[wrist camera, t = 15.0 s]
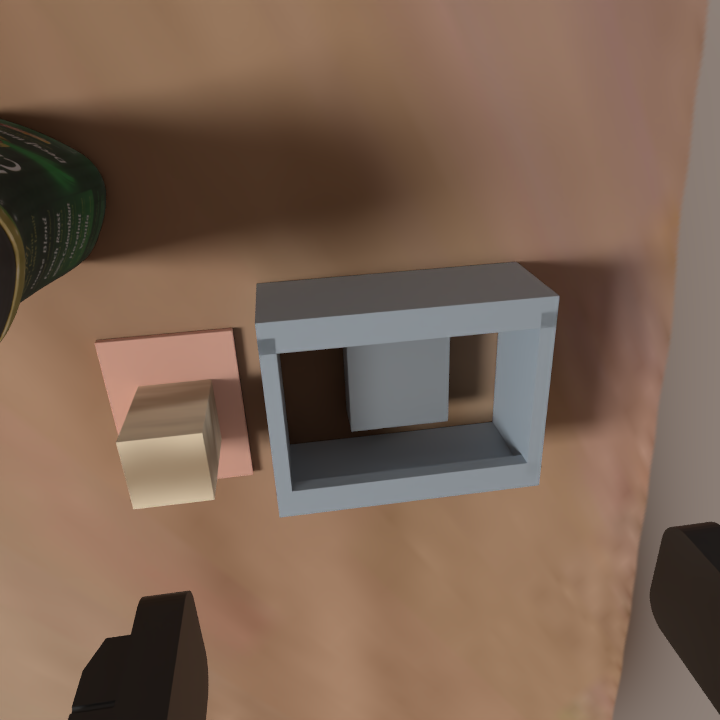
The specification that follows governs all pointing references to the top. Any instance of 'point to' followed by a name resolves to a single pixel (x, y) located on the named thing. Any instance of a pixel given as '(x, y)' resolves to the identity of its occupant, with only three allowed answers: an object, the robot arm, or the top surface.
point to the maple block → (171, 444)
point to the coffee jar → (43, 213)
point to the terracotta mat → (182, 364)
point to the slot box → (409, 383)
